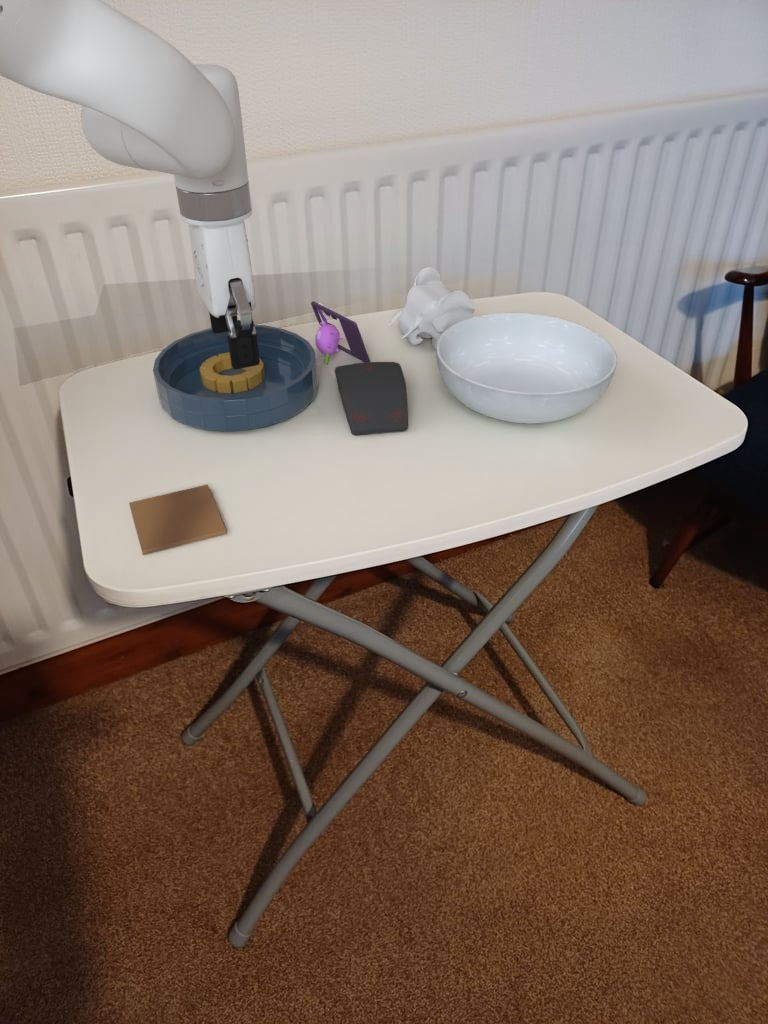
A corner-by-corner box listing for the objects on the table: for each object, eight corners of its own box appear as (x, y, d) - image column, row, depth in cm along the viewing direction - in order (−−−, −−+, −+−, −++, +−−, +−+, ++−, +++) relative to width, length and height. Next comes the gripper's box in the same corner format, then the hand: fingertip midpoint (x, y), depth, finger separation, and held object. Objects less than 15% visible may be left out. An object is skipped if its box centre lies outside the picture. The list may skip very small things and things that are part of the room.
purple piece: (360, 319, 98) (316, 297, 103) (330, 344, 96) (287, 320, 101) (374, 359, 103) (331, 336, 108) (346, 383, 101) (304, 359, 107)
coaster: (142, 555, 73) (141, 551, 73) (129, 506, 79) (128, 502, 79) (226, 533, 76) (226, 529, 76) (208, 488, 82) (207, 484, 81)
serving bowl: (635, 438, 89) (648, 385, 84) (454, 455, 86) (458, 401, 82) (573, 353, 105) (581, 305, 100) (419, 365, 102) (420, 316, 98)
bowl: (177, 449, 87) (170, 414, 84) (148, 372, 101) (141, 340, 98) (339, 414, 93) (337, 380, 90) (290, 345, 107) (288, 314, 104)
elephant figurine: (380, 335, 109) (379, 273, 104) (457, 320, 113) (460, 259, 107) (408, 365, 102) (409, 300, 97) (489, 348, 106) (494, 285, 100)
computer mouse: (395, 374, 100) (395, 345, 98) (415, 431, 90) (415, 401, 87) (332, 379, 99) (331, 350, 97) (345, 437, 89) (344, 407, 86)
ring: (209, 398, 95) (207, 386, 94) (195, 369, 100) (194, 358, 99) (271, 385, 97) (270, 374, 96) (255, 358, 103) (253, 347, 102)
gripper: (163, 182, 88) (189, 323, 98) (197, 232, 75) (221, 388, 86) (229, 173, 90) (247, 313, 101) (272, 221, 77) (287, 374, 88)
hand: (235, 347), depth 93 cm, fingers open, 9 cm apart
